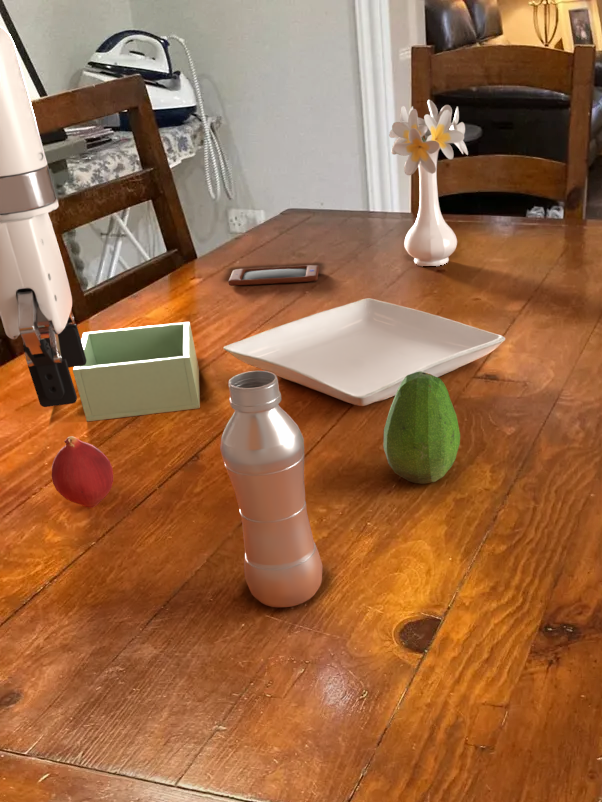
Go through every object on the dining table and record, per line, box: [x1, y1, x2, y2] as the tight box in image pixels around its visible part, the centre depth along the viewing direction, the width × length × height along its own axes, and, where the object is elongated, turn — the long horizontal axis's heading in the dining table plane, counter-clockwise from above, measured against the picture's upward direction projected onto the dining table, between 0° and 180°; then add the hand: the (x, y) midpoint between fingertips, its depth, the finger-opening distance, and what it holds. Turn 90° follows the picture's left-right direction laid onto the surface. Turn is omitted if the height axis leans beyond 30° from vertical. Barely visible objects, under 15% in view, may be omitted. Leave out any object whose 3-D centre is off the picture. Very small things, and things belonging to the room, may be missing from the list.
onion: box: [51, 435, 114, 509], centre depth 94 cm, size 6×6×8 cm
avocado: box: [383, 371, 461, 485], centre depth 96 cm, size 8×8×12 cm
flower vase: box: [388, 99, 469, 267], centre depth 158 cm, size 13×18×25 cm
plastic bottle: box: [219, 370, 323, 608], centre depth 76 cm, size 6×7×20 cm
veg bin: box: [72, 321, 201, 422], centre depth 119 cm, size 14×14×7 cm
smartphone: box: [228, 264, 320, 286], centre depth 160 cm, size 7×1×15 cm
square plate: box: [223, 298, 506, 407], centre depth 125 cm, size 27×27×4 cm
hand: (65, 384), depth 89 cm, fingers open, 9 cm apart
